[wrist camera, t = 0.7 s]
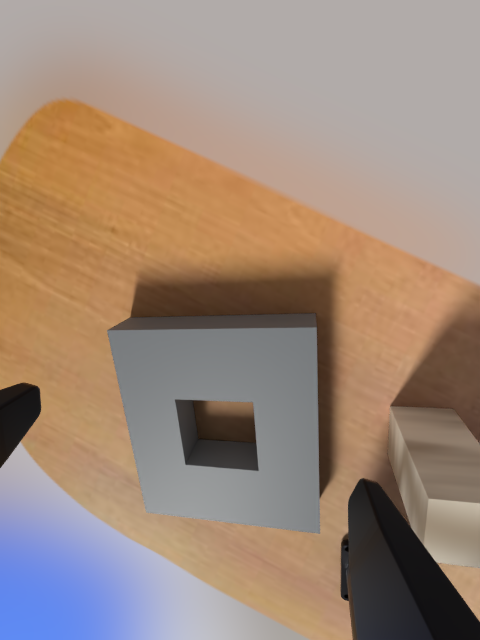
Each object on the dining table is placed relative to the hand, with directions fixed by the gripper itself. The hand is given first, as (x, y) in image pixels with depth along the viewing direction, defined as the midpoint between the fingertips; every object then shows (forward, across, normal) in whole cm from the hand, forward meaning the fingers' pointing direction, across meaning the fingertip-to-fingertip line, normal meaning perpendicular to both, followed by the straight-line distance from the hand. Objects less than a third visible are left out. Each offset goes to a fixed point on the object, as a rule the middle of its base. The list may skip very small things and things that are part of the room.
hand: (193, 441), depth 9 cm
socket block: (+14, 0, +11) cm, 17 cm away
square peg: (+13, -14, +7) cm, 21 cm away
